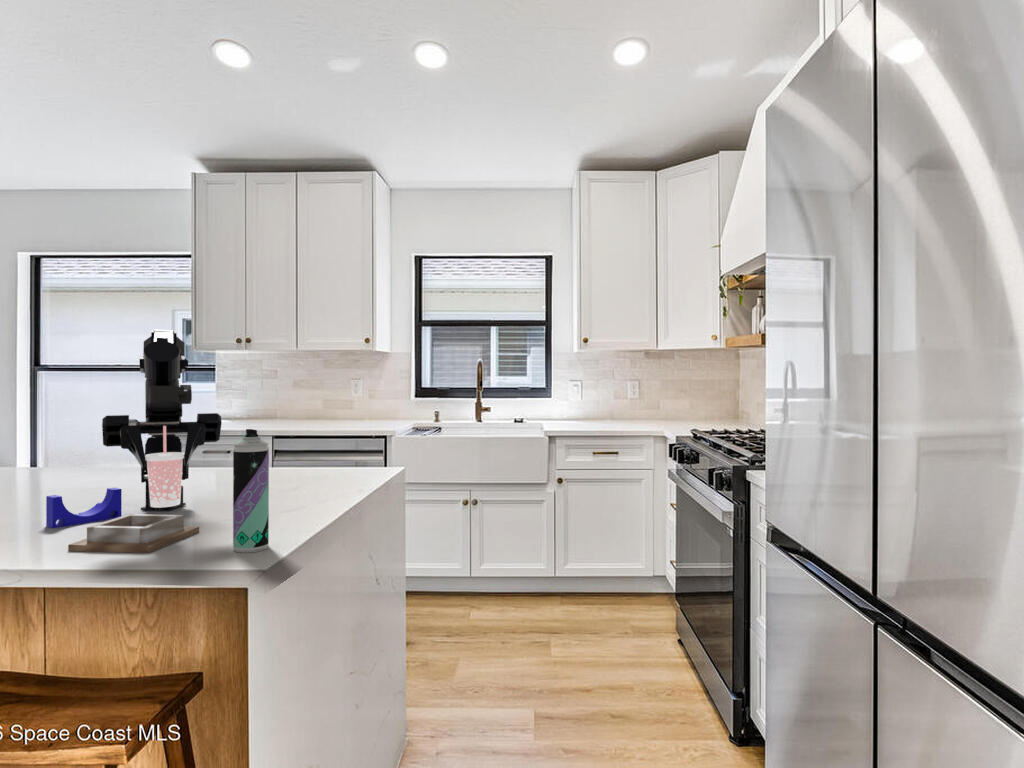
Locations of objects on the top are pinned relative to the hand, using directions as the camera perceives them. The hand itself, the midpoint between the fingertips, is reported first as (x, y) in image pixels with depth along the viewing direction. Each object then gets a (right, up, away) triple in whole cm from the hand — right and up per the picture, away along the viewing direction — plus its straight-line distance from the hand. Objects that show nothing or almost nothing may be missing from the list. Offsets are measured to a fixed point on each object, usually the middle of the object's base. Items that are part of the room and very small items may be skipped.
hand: (165, 465), depth 108 cm
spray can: (+17, -13, -5) cm, 22 cm away
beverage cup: (-1, -7, +1) cm, 7 cm away
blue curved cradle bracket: (-25, -13, +15) cm, 32 cm away
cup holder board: (-5, -13, 0) cm, 14 cm away
